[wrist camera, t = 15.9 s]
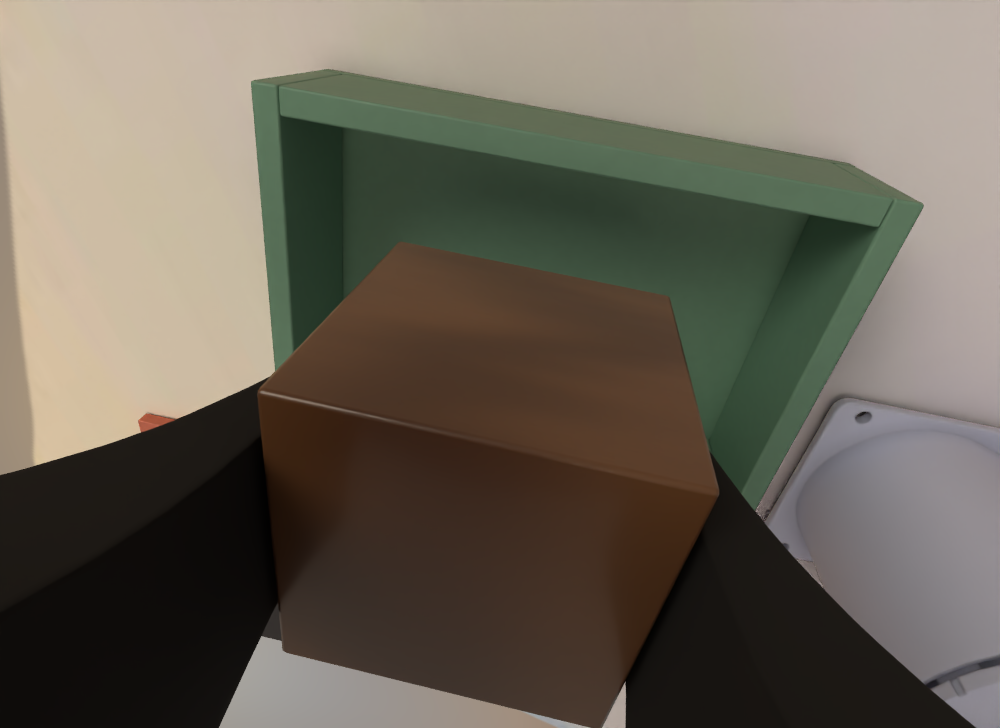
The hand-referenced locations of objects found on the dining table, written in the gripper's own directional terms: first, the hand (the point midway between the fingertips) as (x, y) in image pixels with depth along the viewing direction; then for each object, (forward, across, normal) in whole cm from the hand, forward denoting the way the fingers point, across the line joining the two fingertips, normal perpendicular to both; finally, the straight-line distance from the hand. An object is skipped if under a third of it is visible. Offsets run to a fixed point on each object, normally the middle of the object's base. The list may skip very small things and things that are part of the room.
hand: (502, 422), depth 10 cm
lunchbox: (+10, 0, +2) cm, 10 cm away
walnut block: (+1, 0, 0) cm, 1 cm away
